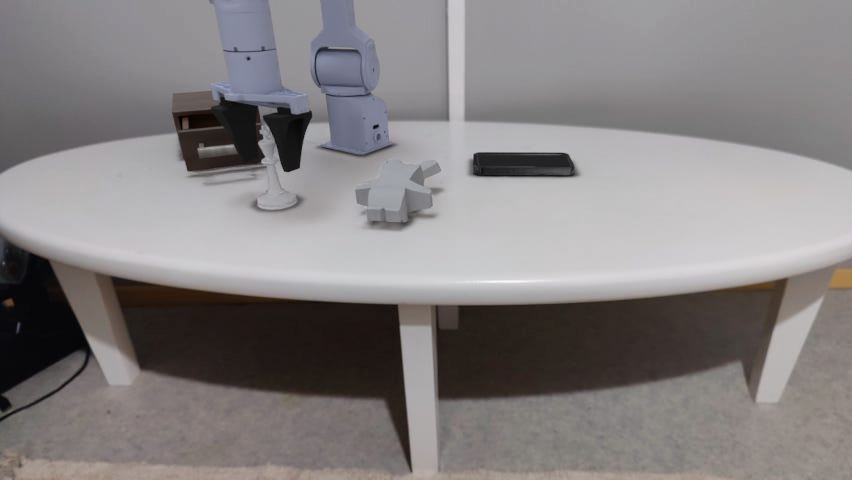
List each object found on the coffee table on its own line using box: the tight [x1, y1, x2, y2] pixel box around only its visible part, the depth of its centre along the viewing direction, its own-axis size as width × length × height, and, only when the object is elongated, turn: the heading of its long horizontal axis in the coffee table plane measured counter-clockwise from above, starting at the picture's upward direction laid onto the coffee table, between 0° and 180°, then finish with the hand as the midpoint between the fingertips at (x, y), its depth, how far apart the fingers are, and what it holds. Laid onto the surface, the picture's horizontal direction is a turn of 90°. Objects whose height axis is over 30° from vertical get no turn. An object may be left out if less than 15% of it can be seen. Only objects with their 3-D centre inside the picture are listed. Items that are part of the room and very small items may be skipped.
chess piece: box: [256, 124, 298, 211], centre depth 70 cm, size 5×5×10 cm
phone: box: [472, 151, 575, 176], centre depth 86 cm, size 8×1×15 cm
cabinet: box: [171, 90, 262, 159], centre depth 95 cm, size 15×12×7 cm
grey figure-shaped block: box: [354, 157, 442, 223], centre depth 71 cm, size 10×5×15 cm
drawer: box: [177, 113, 265, 173], centre depth 85 cm, size 19×11×6 cm, turn 25°
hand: (270, 164), depth 70 cm, fingers open, 7 cm apart
